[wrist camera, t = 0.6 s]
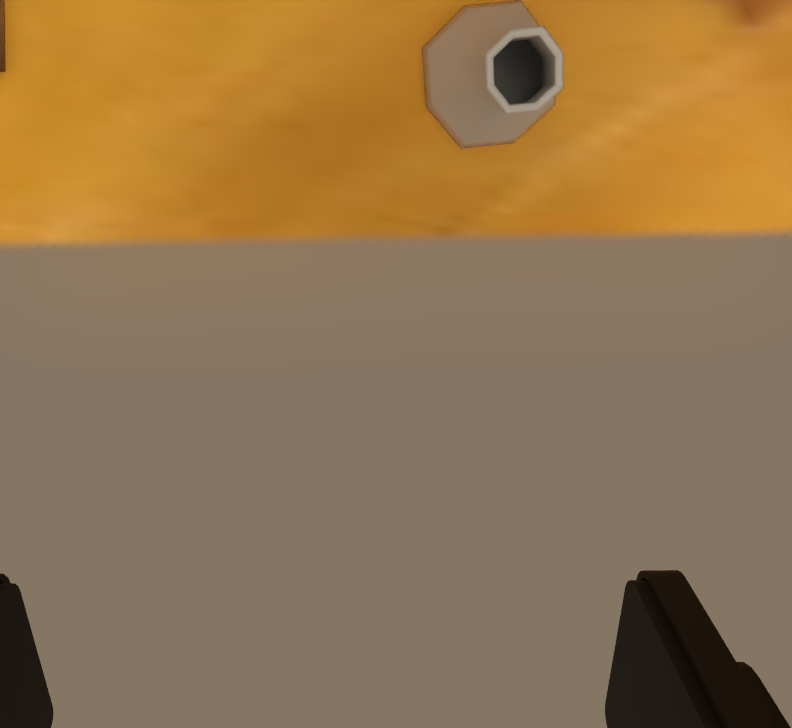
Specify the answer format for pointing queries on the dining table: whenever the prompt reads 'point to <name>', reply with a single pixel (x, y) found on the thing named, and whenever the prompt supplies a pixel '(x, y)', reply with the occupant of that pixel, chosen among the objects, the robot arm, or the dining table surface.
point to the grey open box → (2, 37)
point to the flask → (491, 73)
